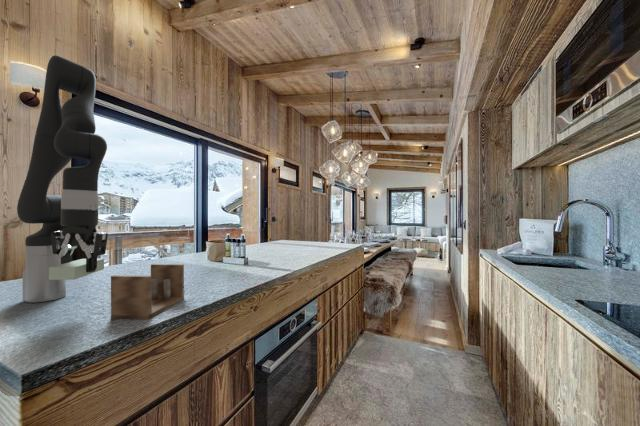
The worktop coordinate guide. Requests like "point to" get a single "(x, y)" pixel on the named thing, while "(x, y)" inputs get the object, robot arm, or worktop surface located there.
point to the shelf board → (72, 270)
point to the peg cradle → (147, 292)
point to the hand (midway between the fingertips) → (78, 271)
